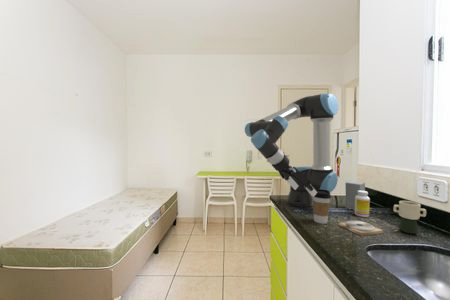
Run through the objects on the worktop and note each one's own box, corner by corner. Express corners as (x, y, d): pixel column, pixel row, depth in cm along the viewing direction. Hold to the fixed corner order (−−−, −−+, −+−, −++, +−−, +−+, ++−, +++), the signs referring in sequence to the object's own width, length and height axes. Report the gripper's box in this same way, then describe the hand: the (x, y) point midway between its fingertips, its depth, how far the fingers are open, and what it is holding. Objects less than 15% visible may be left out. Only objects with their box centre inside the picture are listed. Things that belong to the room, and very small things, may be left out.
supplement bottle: (371, 218, 112) (372, 193, 111) (357, 216, 113) (358, 192, 113) (365, 213, 118) (366, 190, 118) (352, 212, 120) (353, 189, 119)
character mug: (423, 232, 95) (425, 203, 94) (426, 238, 89) (428, 207, 88) (391, 226, 101) (393, 198, 100) (392, 231, 95) (394, 202, 95)
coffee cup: (329, 219, 108) (331, 190, 107) (330, 226, 100) (331, 193, 100) (311, 217, 112) (312, 188, 111) (310, 222, 104) (311, 191, 103)
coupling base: (338, 225, 102) (338, 221, 102) (358, 222, 105) (358, 218, 105) (361, 236, 90) (361, 231, 90) (382, 233, 94) (383, 228, 93)
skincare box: (365, 210, 124) (366, 182, 124) (359, 212, 120) (360, 184, 120) (350, 206, 131) (351, 180, 131) (344, 208, 127) (345, 181, 127)
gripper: (260, 162, 109) (285, 190, 114) (287, 169, 85) (318, 204, 90) (269, 151, 110) (294, 180, 115) (300, 155, 86) (329, 191, 91)
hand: (305, 191), depth 102 cm, fingers open, 13 cm apart
